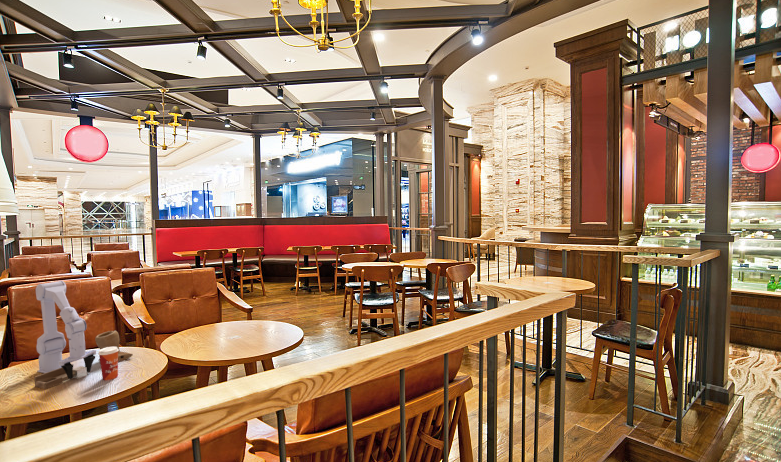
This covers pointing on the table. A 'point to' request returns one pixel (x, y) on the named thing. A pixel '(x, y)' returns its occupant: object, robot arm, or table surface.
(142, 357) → the table surface
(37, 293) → the robot arm
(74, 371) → the steel cube
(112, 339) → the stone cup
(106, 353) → the paper cup
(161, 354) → the table surface
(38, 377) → the walnut cabinet
